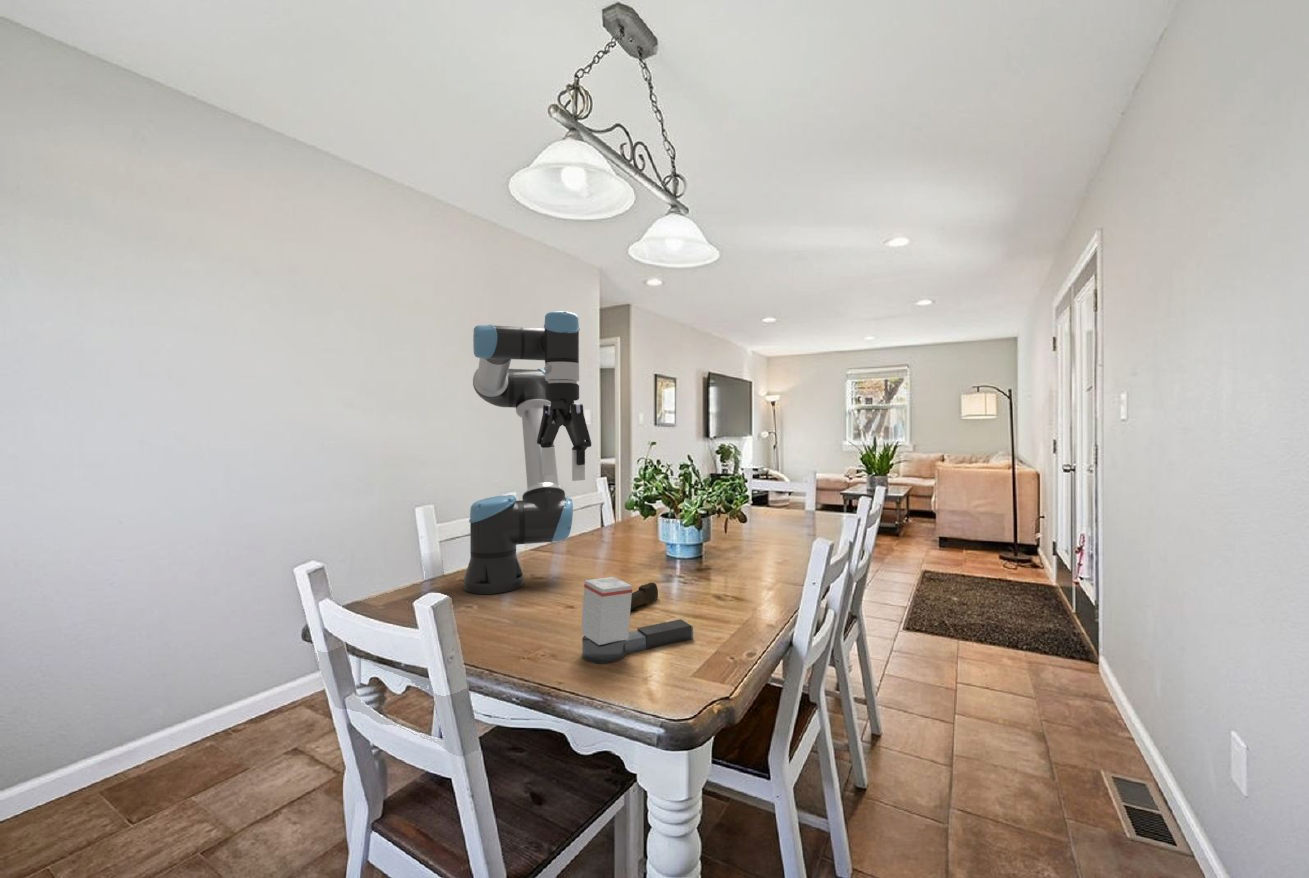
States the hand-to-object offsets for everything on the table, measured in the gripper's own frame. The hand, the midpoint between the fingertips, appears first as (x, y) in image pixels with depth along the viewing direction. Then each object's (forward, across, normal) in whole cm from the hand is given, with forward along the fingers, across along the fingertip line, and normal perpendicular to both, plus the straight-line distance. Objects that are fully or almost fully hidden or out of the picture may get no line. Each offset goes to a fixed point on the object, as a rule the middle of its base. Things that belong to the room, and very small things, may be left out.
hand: (562, 477), depth 124 cm
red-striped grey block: (+27, +24, -5) cm, 37 cm away
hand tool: (+31, +7, +14) cm, 35 cm away
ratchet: (+31, +25, +2) cm, 40 cm away
